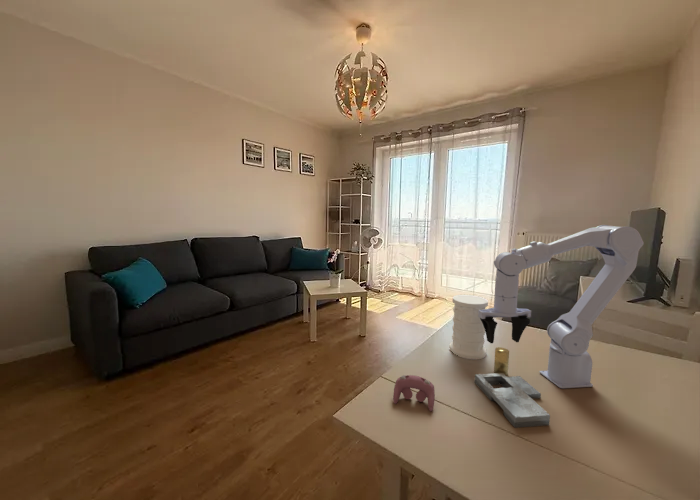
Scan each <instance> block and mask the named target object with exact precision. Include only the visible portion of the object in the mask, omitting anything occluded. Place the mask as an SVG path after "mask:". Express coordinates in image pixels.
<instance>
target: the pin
mask: <svg viewBox="0 0 700 500" xmlns="http://www.w3.org/2000/svg"><path fill="white" fill-rule="evenodd" d="M509 361H510V350H509V349H508V348H506V347H499V346H498V347H495V349H494V363H493V373H504V374H505V375H506V376H507V377H508V375H509Z"/></svg>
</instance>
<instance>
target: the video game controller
mask: <svg viewBox="0 0 700 500" xmlns="http://www.w3.org/2000/svg"><path fill="white" fill-rule="evenodd" d="M412 389H415V390H418V391H417V393H416V394H415V399H416V400H417V401H418V402H419V403H423V402H425V400H426V399H427V405H428V407H427V408H428V411H430V412H432V411H433V409H434V407H435V395H436V394H435V385H434V384H433V382H431V381H429V380H428V379H426V378H424V377H422V376H418V375H413V374H409V375H401V376H400V377H398V378H397V379H396V381H395V383H394V388H393V395H392V396H393V398H392V400H393V401H392V402H393V404H395V405H397V403H398V402H399V400H400V397H401V393H402V396H403V398H404V399H405V400H411V399H412V398H413V391H412Z"/></svg>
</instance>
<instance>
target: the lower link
mask: <svg viewBox="0 0 700 500" xmlns="http://www.w3.org/2000/svg"><path fill="white" fill-rule="evenodd" d="M507 377H508V378H509V379H510V380H511V381H513V382H514V383H515V384H516V385H517V386H518V387H519V388H520V389H521V390H523V391H524V392H525V393H526V394H527V395H528V396H529V397H530V398H532V399H533V400H534V399H541V398H542V394H541V392H539V391H538V389H536V388H534V386H532V385H531V384H530V383H529V382H528V381H526V380H525V379H524V378H523V377H522V376H521V375H516V376H515V375H514V376H513V375H512V376H507ZM487 382H488V383H489V384H490V385H491V386H494V385H496V386H497V385H501V386H502V388H509V387H508V386H507V385H506V384H504V383H503V382H502V381H501V380H494V381H487ZM474 383H475V385H476V386H477V387H478V388H479V389H480V390H481V391H482V392H483V394H484V395H485V396H486V397H487V399H489V400H490V401H491V402H496V401H495V400H494V399H493V398H492V397H491V396H490V394H489V393H488V392H487V391H486V390H485V389H484V388H483V387H482V386H481V385H480V383H479V382H478V381H477V380H476V379H475V378H474Z"/></svg>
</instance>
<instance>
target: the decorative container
mask: <svg viewBox="0 0 700 500" xmlns="http://www.w3.org/2000/svg"><path fill="white" fill-rule="evenodd" d="M452 303H453V304H454V306H453V308H452V309H453V310H452V311H453V316H452V321H453V325H452V331H453V332H452V335H451V339H452V341H451V342H449V348H450V349H449V351H450V350H451V351H452V352H453V353H454V354H453V353H452V352H451V351H450V352H451V353H452V354H453V355H455V354H456V355H455V356H457V355H458V356H457V357H460V358H462V359H465V360H466V359H467V360H480V359H484V358H485V357H486V356H487V349H486V346H484V344H485V336H486V332H485V329H484V326H483V324H482V321H481V320H480V317H478V313H479V310H485V309H487V307H488V306H489V300H488V299H487V298H486V297H482V296H480V295H475V294H474V295H473V294H456V295H453V296H452Z"/></svg>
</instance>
